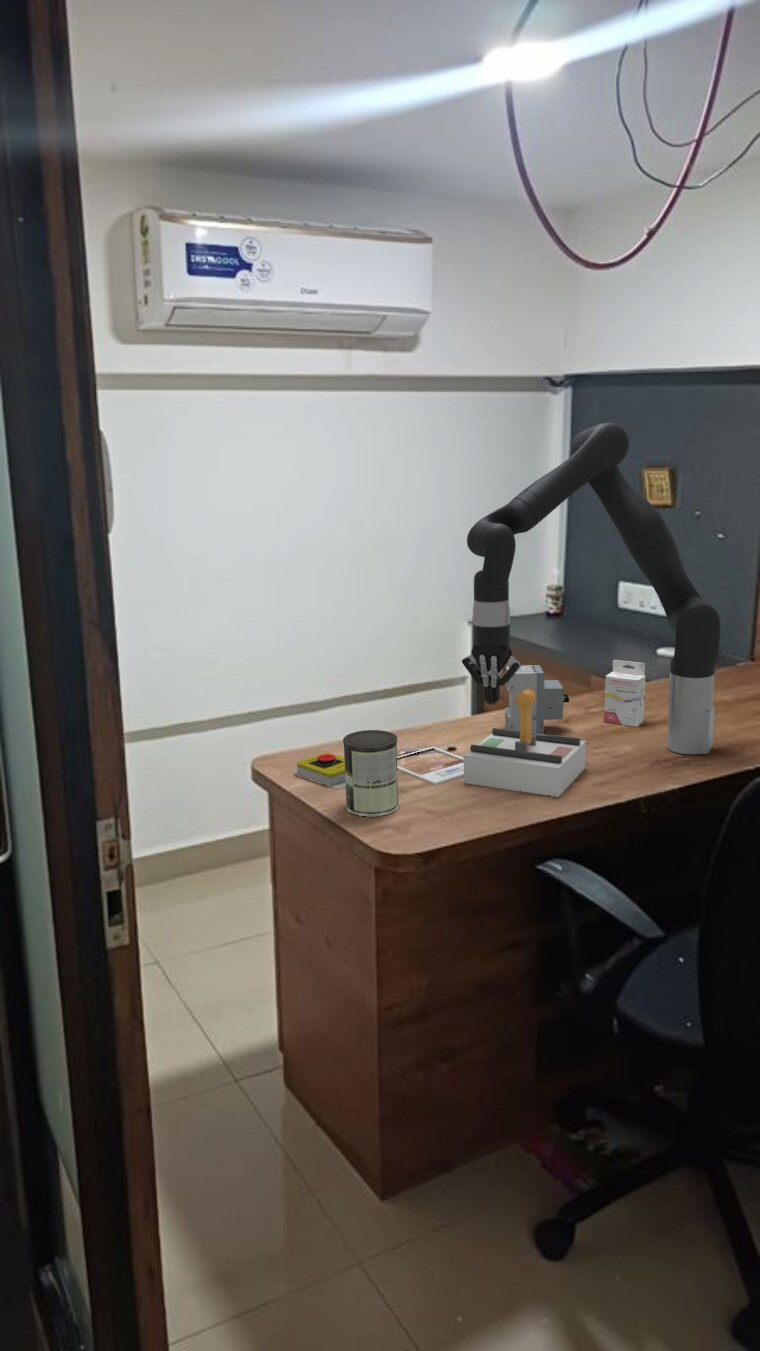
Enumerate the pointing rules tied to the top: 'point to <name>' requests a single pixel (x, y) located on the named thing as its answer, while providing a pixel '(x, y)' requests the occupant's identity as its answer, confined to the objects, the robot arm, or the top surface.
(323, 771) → the emergency button
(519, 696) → the lever
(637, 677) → the ink cartridge box
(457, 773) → the photo frame
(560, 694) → the circuit breaker
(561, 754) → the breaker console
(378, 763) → the coffee can
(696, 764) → the top surface
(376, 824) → the top surface
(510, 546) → the robot arm
